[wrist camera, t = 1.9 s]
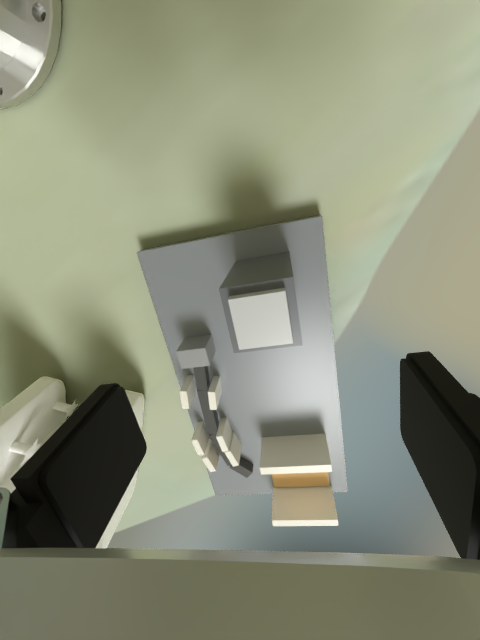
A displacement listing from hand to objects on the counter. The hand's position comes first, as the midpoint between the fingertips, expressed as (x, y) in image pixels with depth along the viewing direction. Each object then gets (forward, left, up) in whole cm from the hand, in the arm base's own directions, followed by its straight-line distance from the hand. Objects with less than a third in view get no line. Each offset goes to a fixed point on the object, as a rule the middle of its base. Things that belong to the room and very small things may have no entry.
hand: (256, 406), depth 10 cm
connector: (0, 0, -14) cm, 14 cm away
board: (+9, -3, -15) cm, 18 cm away
